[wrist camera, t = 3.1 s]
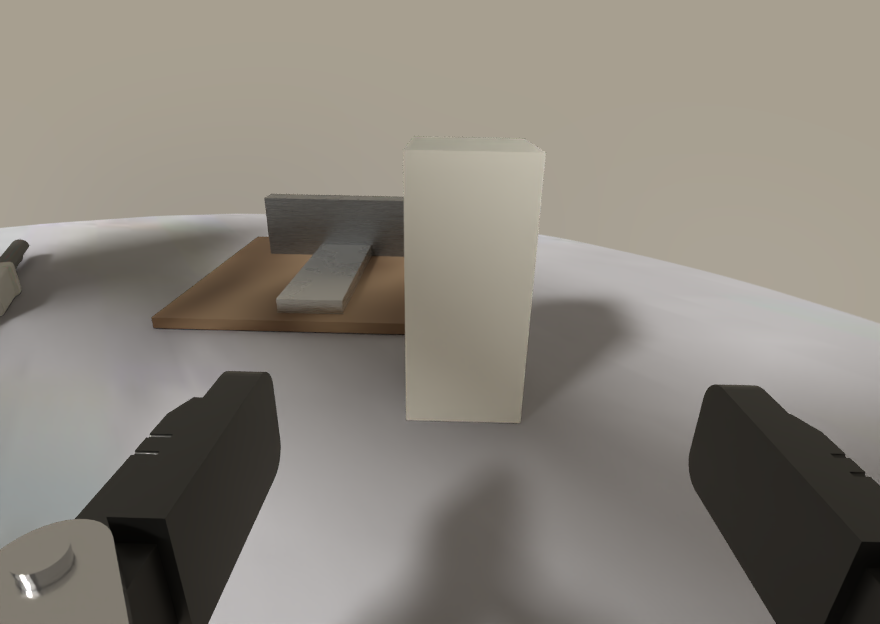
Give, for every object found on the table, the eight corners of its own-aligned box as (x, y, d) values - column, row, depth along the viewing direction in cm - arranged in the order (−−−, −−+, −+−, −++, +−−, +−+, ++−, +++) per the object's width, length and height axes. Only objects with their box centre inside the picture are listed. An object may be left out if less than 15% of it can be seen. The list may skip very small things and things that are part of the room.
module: (406, 420, 20) (403, 149, 16) (414, 358, 24) (413, 136, 21) (520, 423, 20) (545, 152, 16) (507, 360, 24) (524, 138, 20)
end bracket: (270, 253, 37) (264, 198, 36) (277, 247, 39) (271, 193, 37) (423, 257, 37) (423, 201, 36) (424, 251, 38) (424, 197, 37)
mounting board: (153, 328, 27) (151, 317, 27) (258, 243, 42) (258, 236, 41) (460, 335, 27) (460, 325, 27) (457, 248, 41) (457, 241, 41)
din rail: (277, 312, 28) (276, 298, 27) (332, 241, 40) (332, 231, 40) (342, 314, 28) (342, 300, 27) (377, 242, 40) (377, 232, 40)
